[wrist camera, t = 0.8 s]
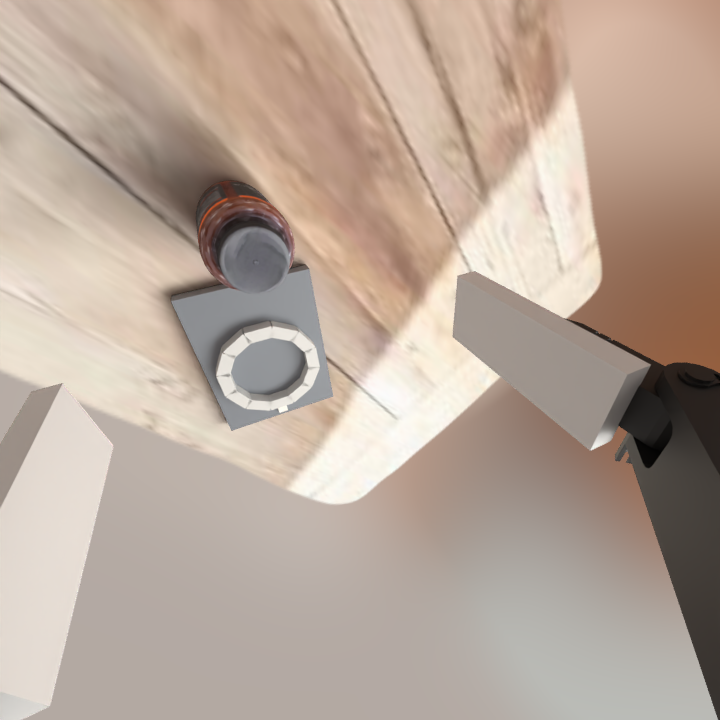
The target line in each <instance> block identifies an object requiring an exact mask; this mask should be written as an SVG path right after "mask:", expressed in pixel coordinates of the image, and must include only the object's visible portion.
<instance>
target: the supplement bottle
mask: <svg viewBox="0 0 720 720" xmlns="http://www.w3.org/2000/svg"><path fill="white" fill-rule="evenodd" d="M196 222H197V232H198V243H199V249H200V253H201V256H202V259H203V261H204V264H205V266H206V267H207V269H208V270H209V272H210V273H211V274H212V275H213V276H214V277H215V278H216V279H217V280H218V281H219V282H221V283H222V284H224V285H226V286H227V287H229V288H231V289H234V290H237V291H242V292H245V293H249V294H264V293H267V292H270V291H272V290H274V289H276V288H277V287H278V286H279V285H280V284H282V283H283V281H284V280H285V278H286V276H287V274H288V271H289V269H290V267H291V265H292V263H293V259H294V254H295V244H294V238H293V235H292V231H291V229H290V227H289V225H288V223H287V221H286V220H285V219H284V217H283V216H282V215H281V214H280V212H279V211H278V210H277V209H276V208H275V207H274V206H273V205H272V204H271V203H270V202H269V201H268V200H267V199H266V198H265V197H264V196H263V195H262V194H261V193H260V192H259V191H257V190H256V189H254V188H253V187H251V186H250V185H247V184H245V183H242V182H238V181H223V182H220V183H216V184H214V185H212V186H211V187H210V188H208V189H207V190H206V191H205V192H204V194H203V195H202V197H201V198H200V201H199V203H198V206H197V211H196Z"/></svg>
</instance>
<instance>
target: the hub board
mask: <svg viewBox="0 0 720 720" xmlns="http://www.w3.org/2000/svg"><path fill="white" fill-rule="evenodd" d="M171 303H172V305H173V307H174V309H175V311H176V313H177V315H178V318H179V320H180V322H181V324H182V326H183V328H184V330H185V332H186V335H187V337H188V339H189V341H190V343H191V345H192V347H193V350H194V352H195V354H196V356H197V358H198V360H199V362H200V364H201V367H202V369H203V371H204V373H205V375H206V377H207V379H208V382H209V384H210V386H211V388H212V390H213V392H214V394H215V396H216V399H217V401H218V403H219V405H220V407H221V409H222V411H223V414H224V416H225V418H226V420H227V422H228V424H229V426H230V428H231V431H232V430H235V429H238V428H241V427H244V426H247V425H250V424H253V423H256V422H259V421H262V420H265V419H268V418H271V417H274V416H277V415H280V414H282V413H285V412H288V411H291V410H294V409H297V408H300V407H303V406H306V405H309V404H312V403H315V402H318V401H321V400H324V399H327V398H330V397H333V393H332V387H331V382H330V377H329V371H328V366H327V361H326V356H325V350H324V345H323V340H322V334H321V329H320V324H319V319H318V313H317V308H316V303H315V297H314V292H313V287H312V281H311V276H310V271H309V268H308V267H307V266H306V265H303V266H299V267H294V268H290V269H289V271H288V274H287V276H286V278H285V280H284V281H283V283H282V284H280V285H279V286H278V287H277V288H276V289H274V290H272V291H270V292H267V293H264V294H249V293H245V292H242V291H237V290H234V289H231V288H229V287H227V286H226V285H224V284H221V285H216V286H212V287H208V288H203V289H199V290H195V291H190V292H186V293H182V294H178V295H173V296H172V297H171Z"/></svg>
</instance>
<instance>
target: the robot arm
mask: <svg viewBox="0 0 720 720" xmlns="http://www.w3.org/2000/svg"><path fill="white" fill-rule="evenodd" d="M453 338H455V339H456V340H457V341H458V342H460V343H461V344H462V345H463V346H464V347H466V348H467V349H468V350H469V351H470V352H472V353H473V354H474V355H475V356H476V357H478V358H479V359H480V360H481V361H482V362H484V363H485V364H486V365H487V366H489V367H490V368H491V369H492V370H493V371H495V372H496V373H497V374H498V375H499V376H501V377H502V378H503V379H504V380H505V381H507V382H508V383H509V384H510V385H511V386H513V387H514V388H515V389H516V390H517V391H519V392H520V393H521V394H522V395H524V396H525V397H526V398H527V399H528V400H530V401H531V402H532V403H533V404H534V405H536V406H537V407H538V408H539V409H540V410H542V411H543V412H544V413H545V414H546V415H548V416H549V417H550V418H551V419H553V420H554V421H555V422H556V423H557V424H559V425H560V426H561V427H562V428H564V429H565V430H566V431H567V432H568V433H569V434H571V435H572V436H573V437H574V438H575V439H577V440H578V441H579V442H580V443H582V444H583V445H584V446H585V447H586V448H588V449H589V450H590V451H591V450H593V449H595V448H597V447H599V446H601V445H603V444H605V443H607V442H609V441H611V439H612V437H613V435H614V433H615V432H616V430H617V428H618V426H620V427H621V428H623V429H624V430H626V431H627V432H628V433H627V435H626V437H625V438H624V440H623V442H622V444H621V445H620V447H619V449H618V451H617V452H616V454H615V460H616V461H620V460H621V459H622V457H623V455H624V453H625V452H627V451H628V453H629V458H628V459H627V461H626V462H627V463H631V464H632V465H633V468H634V471H635V474H636V477H637V480H638V483H639V486H640V489H641V492H642V495H643V498H644V501H645V504H646V507H647V510H648V513H649V516H650V519H651V522H652V525H653V528H654V531H655V534H656V537H657V539H658V543H659V545H660V548H661V551H662V554H663V557H664V560H665V563H666V566H667V569H668V572H669V575H670V578H671V581H672V584H673V587H674V590H675V593H676V596H677V599H678V602H679V605H680V608H681V611H682V614H683V617H684V620H685V623H686V626H687V629H688V632H689V634H690V637H691V640H692V643H693V646H694V649H695V652H696V655H697V658H698V661H699V664H700V667H701V670H702V673H703V676H704V679H705V682H706V685H707V688H708V691H709V694H710V697H711V700H712V703H713V706H714V709H715V711H716V715H717V717H718V720H720V373H718V372H716V371H714V370H712V369H709V368H706V367H704V366H700V365H696V364H690V363H672V364H669V365H667V366H663V365H661V364H659V363H657V362H655V361H654V360H651V359H650V358H648V357H646V356H644V355H642V354H640V353H638V352H636V351H634V350H632V349H630V348H628V347H627V346H625V345H623V344H621V343H619V342H617V341H615V340H613V341H612V340H611V338H609V337H607V336H605V335H603V334H599V333H598V331H596V330H594V329H592V328H590V327H588V326H586V325H584V324H582V323H578V322H575V321H572V320H568V319H565V318H562V317H560V316H558V315H556V314H555V313H553V312H551V311H549V310H547V309H545V308H543V307H541V306H539V305H538V304H536V303H534V302H532V301H530V300H528V299H526V298H524V297H522V296H521V295H519V294H517V293H515V292H513V291H511V290H509V289H507V288H505V287H504V286H502V285H500V284H498V283H496V282H494V281H492V280H490V279H489V278H487V277H485V276H483V275H481V274H479V273H477V272H475V271H473V272H470V273H466V274H462V275H459V276H458V278H457V290H456V302H455V313H454V325H453ZM113 447H114V446H113V444H112V443H111V442H110V441H109V440H108V438H107V437H106V436H105V435H104V433H103V432H102V431H101V430H100V428H99V427H98V426H97V425H96V423H95V422H94V421H93V420H92V419H91V417H90V416H89V415H88V414H87V412H86V411H85V410H84V409H83V408H82V406H81V405H80V404H79V403H78V401H77V400H76V399H75V398H74V396H73V395H72V394H71V393H70V391H69V390H68V389H67V388H66V387H65V385H64V384H63V383H62V384H58V385H54V386H51V387H47V388H43V389H39V390H36V391H32V392H31V393H30V395H29V397H28V398H27V400H26V402H25V403H24V405H23V407H22V408H21V410H20V412H19V413H18V415H17V417H16V418H15V420H14V422H13V423H12V425H11V427H10V428H9V430H8V432H7V433H6V435H5V437H4V438H3V440H2V442H1V443H0V720H22V719H24V718H26V717H28V716H30V715H33V714H35V713H37V712H39V711H41V710H43V709H45V708H47V707H49V706H50V704H51V700H52V696H53V692H54V688H55V683H56V679H57V675H58V671H59V667H60V663H61V659H62V655H63V651H64V647H65V643H66V638H67V634H68V630H69V626H70V622H71V618H72V614H73V610H74V606H75V602H76V598H77V594H78V590H79V585H80V581H81V577H82V573H83V569H84V565H85V561H86V557H87V553H88V548H89V545H90V540H91V536H92V532H93V528H94V524H95V520H96V516H97V512H98V508H99V503H100V500H101V495H102V492H103V487H104V483H105V479H106V475H107V471H108V467H109V462H110V459H111V455H112V451H113Z"/></svg>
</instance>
